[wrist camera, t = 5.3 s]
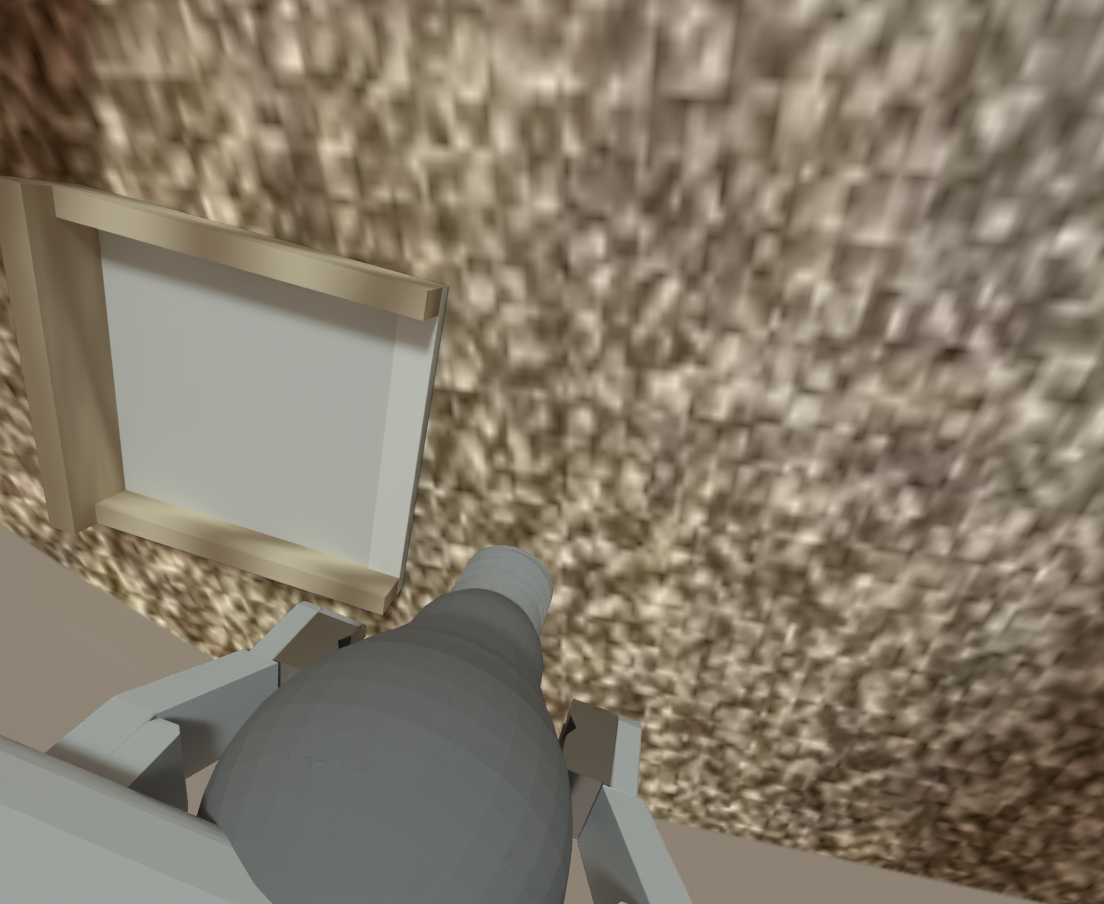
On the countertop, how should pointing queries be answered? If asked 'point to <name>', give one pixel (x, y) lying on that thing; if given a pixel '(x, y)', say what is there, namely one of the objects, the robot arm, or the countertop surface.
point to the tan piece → (88, 382)
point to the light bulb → (410, 760)
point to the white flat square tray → (249, 395)
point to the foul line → (404, 438)
